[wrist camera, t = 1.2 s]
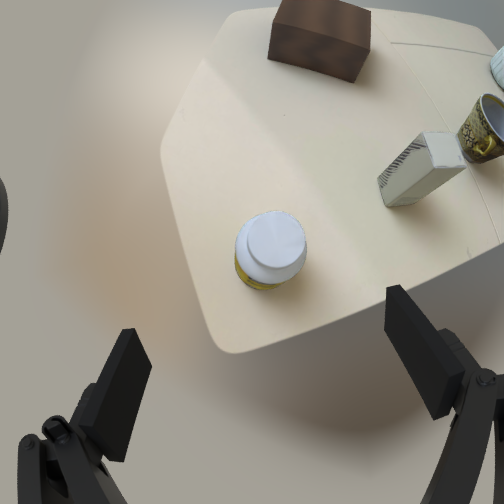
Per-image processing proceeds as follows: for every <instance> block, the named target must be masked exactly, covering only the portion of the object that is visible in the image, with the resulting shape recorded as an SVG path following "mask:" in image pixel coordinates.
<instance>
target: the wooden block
mask: <svg viewBox="0 0 504 504" xmlns="http://www.w3.org/2000/svg"><path fill="white" fill-rule="evenodd" d="M370 39H371V11H369V10H366V9H363V8H360V7H358V6H355V5H352V4H348V3H345V2H342V1H339V0H282V2H281V4H280V7H279V9H278V11H277V13H276V16H275V18H274V20H273V23H272V30H271V37H270V44H269V51H268V58H267V59H271V60H275V61H279V62H283V63H287V64H291V65H295V66H299V67H303V68H306V69H310V70H313V71H317V72H320V73H323V74H327V75H330V76H333V77H336V78H339V79H342V80H345V81H348V82H351V83H354V82H355V80H356V78H357V76H358V74H359V72H360V70H361V68H362V66H363V64H364V62H365V60H366V58H367V56H368V54H369V52H370Z"/></svg>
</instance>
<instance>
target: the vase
mask: <svg viewBox="0 0 504 504" xmlns="http://www.w3.org/2000/svg"><path fill="white" fill-rule="evenodd" d="M490 66H491V71H492V74H493V76H494V78H495V80H496V81H497V83H498V84H499V85H500V86H501V88H502V89H504V46H503V47H502V48H501V49H500V50H499V51H498V52H497V53H496V55H495V56H494V57H493V58H492V60H491V63H490Z"/></svg>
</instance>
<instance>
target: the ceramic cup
mask: <svg viewBox="0 0 504 504" xmlns="http://www.w3.org/2000/svg"><path fill="white" fill-rule="evenodd" d="M456 140H457V142H458V145H459V147H460V149H461V152H462V154H463V156H464V157H465V158H466V159H467V160H468V161H469V162H471V163H478V164H481V163H484V162H486V161H489V160H492V159H494V158H497V157H499V156H502V155H504V102H503V101H502V100H501V99H500V98H498V97H497V96H495V95H493V94H491V93H483V94H482V95H481V96H480V98H479V99H478V101H477V102H476V104H475V105H474V107H473V109H472V111H471V113H470V115H469V116H468V118H467V119H466V121H465V122H464V124H463V125H462V126H461V128H460V129H459V131H458V133H457V135H456Z"/></svg>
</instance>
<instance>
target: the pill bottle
mask: <svg viewBox="0 0 504 504" xmlns="http://www.w3.org/2000/svg"><path fill="white" fill-rule="evenodd" d="M306 254H307V245H306V238H305V233H304V230H303V228H302V226H301V224H300V223H299V222H298V220H297V219H296V218H294V217H293V216H292V215H290V214H288V213H285V212H281V211H270V212H266V213H264V214H261V215H258V216H255V217H253V218H252V219H250V220H249V221H247V222H246V223H245V224H244V225H243V227H242V228H241V230H240V231H239V233H238V236H237V239H236V244H235V268H236V271H237V274H238V275H239V277H240V279H241V280H242V281H243V282H244V283H245V284H247V285H248V286H250V287H252V288H255V289H259V290H269V289H273V288H275V287H277V286H279V285H281V284H282V283H284V282H286V281H287V280H289V279H291V278H292V277H293V276H295V275H296V274H297V273H298V272H299V270H300V269H301V267H302V266H303V264H304V261H305V258H306Z"/></svg>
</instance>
